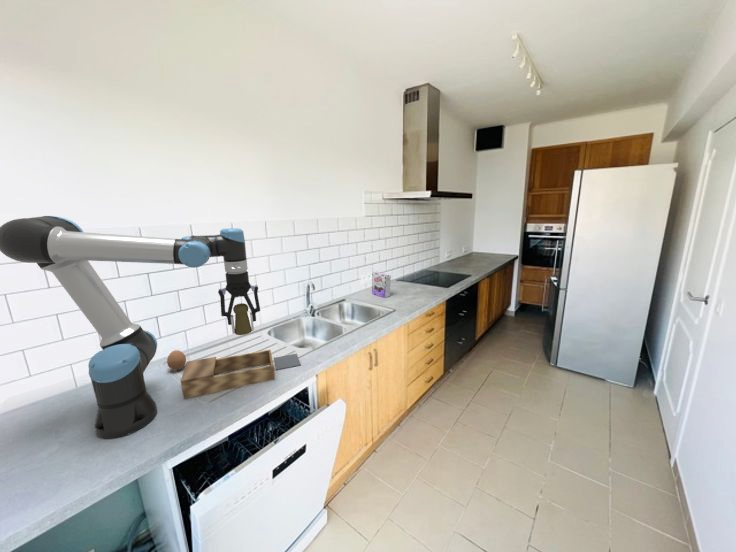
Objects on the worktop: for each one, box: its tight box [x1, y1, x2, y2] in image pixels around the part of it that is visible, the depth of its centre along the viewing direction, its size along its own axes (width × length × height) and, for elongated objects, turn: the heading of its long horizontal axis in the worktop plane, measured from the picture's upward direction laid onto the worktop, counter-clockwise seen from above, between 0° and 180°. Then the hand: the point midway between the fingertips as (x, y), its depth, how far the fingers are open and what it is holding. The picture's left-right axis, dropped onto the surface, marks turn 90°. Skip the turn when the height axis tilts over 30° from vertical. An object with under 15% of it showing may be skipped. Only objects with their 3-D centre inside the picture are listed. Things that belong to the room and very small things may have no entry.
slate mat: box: [273, 353, 302, 371], centre depth 128 cm, size 10×10×1 cm
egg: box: [166, 349, 187, 371], centre depth 121 cm, size 6×6×8 cm
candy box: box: [371, 271, 392, 299], centre depth 217 cm, size 14×6×16 cm, turn 43°
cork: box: [232, 302, 253, 336], centre depth 112 cm, size 6×6×11 cm
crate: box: [180, 349, 276, 399], centre depth 115 cm, size 31×14×7 cm, turn 113°
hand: (243, 330), depth 113 cm, fingers closed on cork, 6 cm apart
